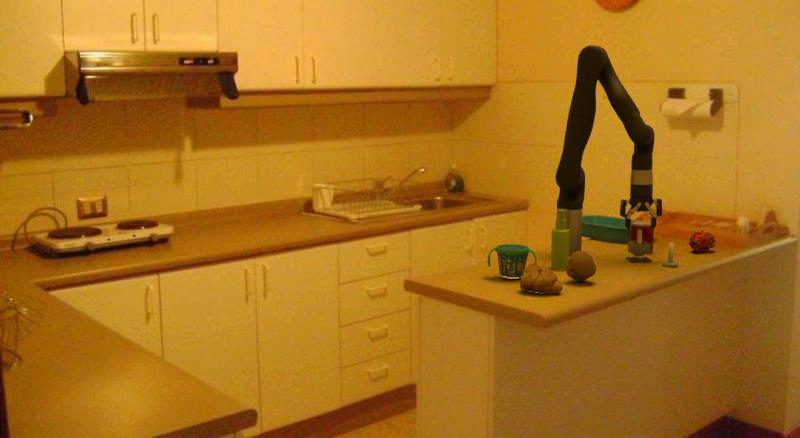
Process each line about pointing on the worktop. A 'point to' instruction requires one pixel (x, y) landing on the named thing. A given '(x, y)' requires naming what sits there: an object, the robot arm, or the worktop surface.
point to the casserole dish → (606, 228)
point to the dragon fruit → (702, 241)
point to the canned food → (643, 232)
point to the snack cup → (512, 259)
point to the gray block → (639, 247)
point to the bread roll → (540, 280)
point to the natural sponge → (581, 266)
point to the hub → (670, 257)
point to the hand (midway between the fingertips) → (640, 228)
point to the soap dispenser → (560, 243)
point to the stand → (639, 257)
